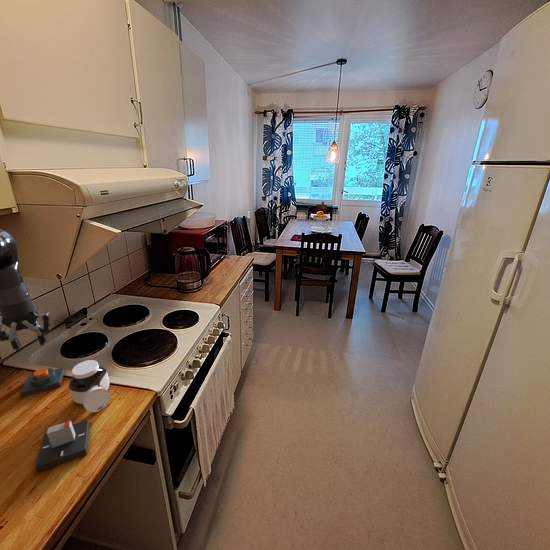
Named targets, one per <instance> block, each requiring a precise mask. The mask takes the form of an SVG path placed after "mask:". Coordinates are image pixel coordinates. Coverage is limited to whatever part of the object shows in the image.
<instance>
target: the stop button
mask: <svg viewBox="0 0 550 550" xmlns="http://www.w3.org/2000/svg"><path fill="white" fill-rule="evenodd" d="M47 368H48V367H42V368H38V369H36V370H35V371H34V372H33V373H34V377H35V379H37V380H38V379H42V378H44V377H46V376H47V375H48V374H49V373H48V370H47Z"/></svg>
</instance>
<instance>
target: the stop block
mask: <svg viewBox="0 0 550 550" xmlns="http://www.w3.org/2000/svg"><path fill="white" fill-rule="evenodd" d="M46 368H47V370H48V373H49V374H48V375H47V376H46V377H44V378H42V379H38V380H37V379H35V377H34V372H33V373H32V374H30V375H28V376H27V377H26V379H25V381H24V383H23V386H22V389H21V391H20V393H21V396H22V397H27V396H30V395H34V394H38V393H41V392H45V391H50V390H53V389H57V388H59V387H62V384H63V380H64V375H65V369H64V367H59V368H56V369H55V368H54V369H53V368H52V367H51V368H49V367H46Z"/></svg>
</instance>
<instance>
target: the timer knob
mask: <svg viewBox="0 0 550 550" xmlns="http://www.w3.org/2000/svg"><path fill="white" fill-rule="evenodd" d="M72 424H73V423H72V420H66V421H65V422H63V423H58V424H55V425H53V426H50V427H47V430H46V431H47V432H46V433H47V436H48V438H49V441H50V443H51V446H52V448H53V447H56V446H59V445H62V444H65V443H68V442H71V441H74V440H75V431H74V428H73V426H72Z"/></svg>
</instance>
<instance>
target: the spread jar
mask: <svg viewBox="0 0 550 550" xmlns="http://www.w3.org/2000/svg"><path fill="white" fill-rule="evenodd" d="M71 374H72V377H71V379H70V380H69V384H68V390H69V393H70V396H71V399H72V400H73V402H74V403H76V404H78V405H82V406H83V408H84V409H85V410H86V411H88V412H89V413H98V412H100V411H102V410H103V409H105V408H106V407H107V406H108V405H109V402H110V400H111V399H110V398H111V395H110V392H109V388H110V378H109V375H108V371H107V369H106V368H104V367H103V366H100V365H99V363H98V361H97V360H94V359H89V360H84V361H81V362H79V363H77V364H75V365H74V366H73V368H72V369H71Z"/></svg>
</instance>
